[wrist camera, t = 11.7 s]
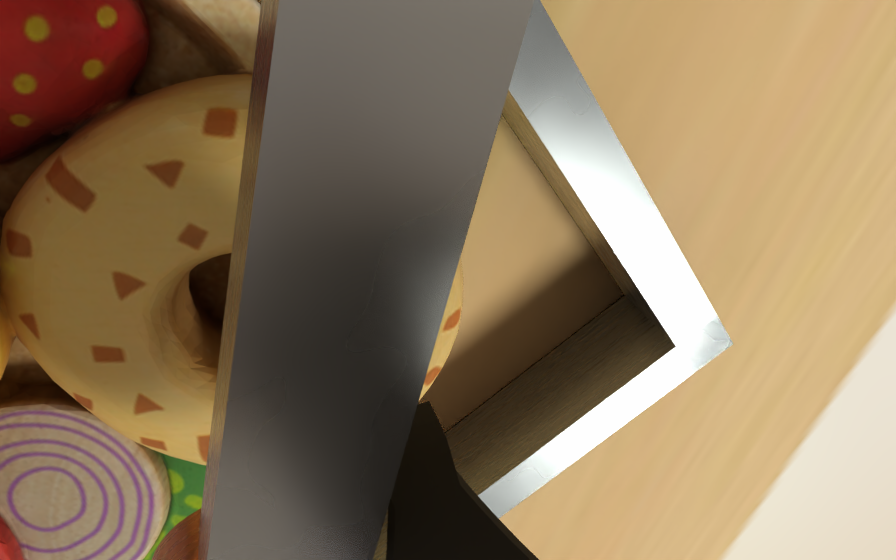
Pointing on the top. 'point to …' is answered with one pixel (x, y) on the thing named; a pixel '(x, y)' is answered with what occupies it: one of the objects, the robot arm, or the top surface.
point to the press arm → (343, 263)
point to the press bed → (613, 331)
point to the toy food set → (118, 264)
